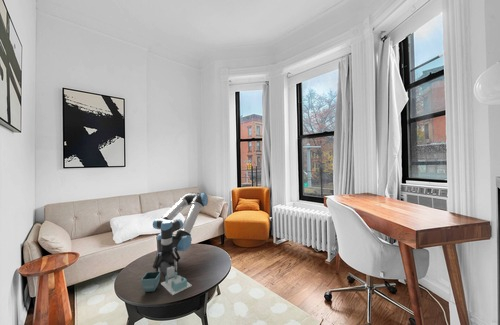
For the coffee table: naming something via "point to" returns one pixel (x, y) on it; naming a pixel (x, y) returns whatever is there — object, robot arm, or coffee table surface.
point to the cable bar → (167, 269)
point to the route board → (175, 284)
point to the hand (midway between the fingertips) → (167, 273)
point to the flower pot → (150, 281)
